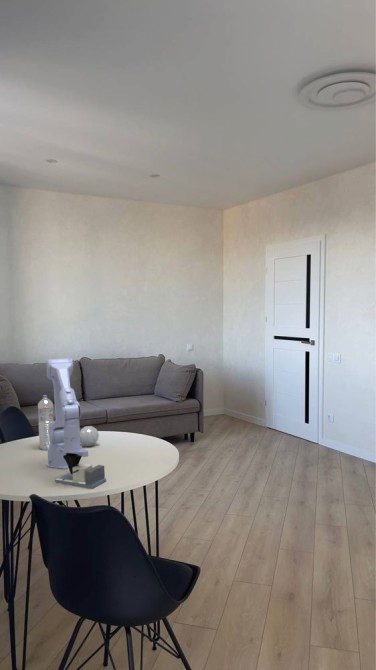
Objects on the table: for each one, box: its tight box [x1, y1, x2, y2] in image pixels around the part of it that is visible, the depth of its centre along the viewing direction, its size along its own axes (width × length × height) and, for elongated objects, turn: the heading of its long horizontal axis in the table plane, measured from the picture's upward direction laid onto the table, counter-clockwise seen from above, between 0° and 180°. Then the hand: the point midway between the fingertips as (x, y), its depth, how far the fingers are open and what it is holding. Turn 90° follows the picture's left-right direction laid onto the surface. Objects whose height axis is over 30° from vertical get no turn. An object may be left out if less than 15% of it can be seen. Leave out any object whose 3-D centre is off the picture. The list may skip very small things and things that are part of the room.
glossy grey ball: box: [80, 425, 100, 448], centre depth 229 cm, size 9×10×15 cm
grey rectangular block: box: [85, 464, 106, 485], centre depth 173 cm, size 2×8×5 cm, turn 154°
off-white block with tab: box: [73, 463, 93, 482], centre depth 174 cm, size 6×8×5 cm
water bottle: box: [37, 394, 55, 451], centre depth 224 cm, size 7×7×25 cm
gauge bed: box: [54, 472, 107, 490], centre depth 176 cm, size 17×8×2 cm, turn 64°
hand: (73, 473), depth 177 cm, fingers closed
